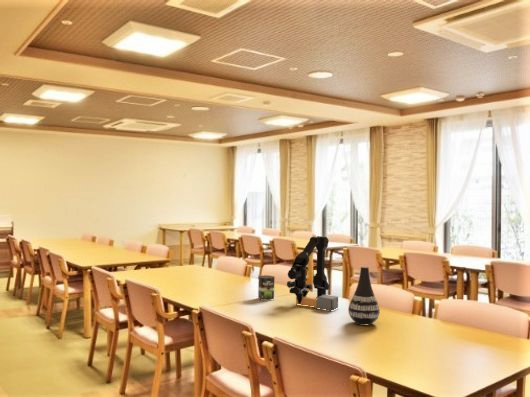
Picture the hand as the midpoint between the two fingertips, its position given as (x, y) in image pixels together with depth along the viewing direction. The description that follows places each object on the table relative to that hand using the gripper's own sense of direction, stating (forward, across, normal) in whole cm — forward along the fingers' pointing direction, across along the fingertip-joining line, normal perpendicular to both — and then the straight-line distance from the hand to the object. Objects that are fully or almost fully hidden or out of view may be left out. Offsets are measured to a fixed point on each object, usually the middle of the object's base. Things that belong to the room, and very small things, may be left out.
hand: (300, 303), depth 291 cm
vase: (+1, +18, +46) cm, 50 cm away
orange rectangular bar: (+1, 0, +8) cm, 8 cm away
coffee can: (+1, -2, -26) cm, 26 cm away
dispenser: (+1, 0, +17) cm, 17 cm away
